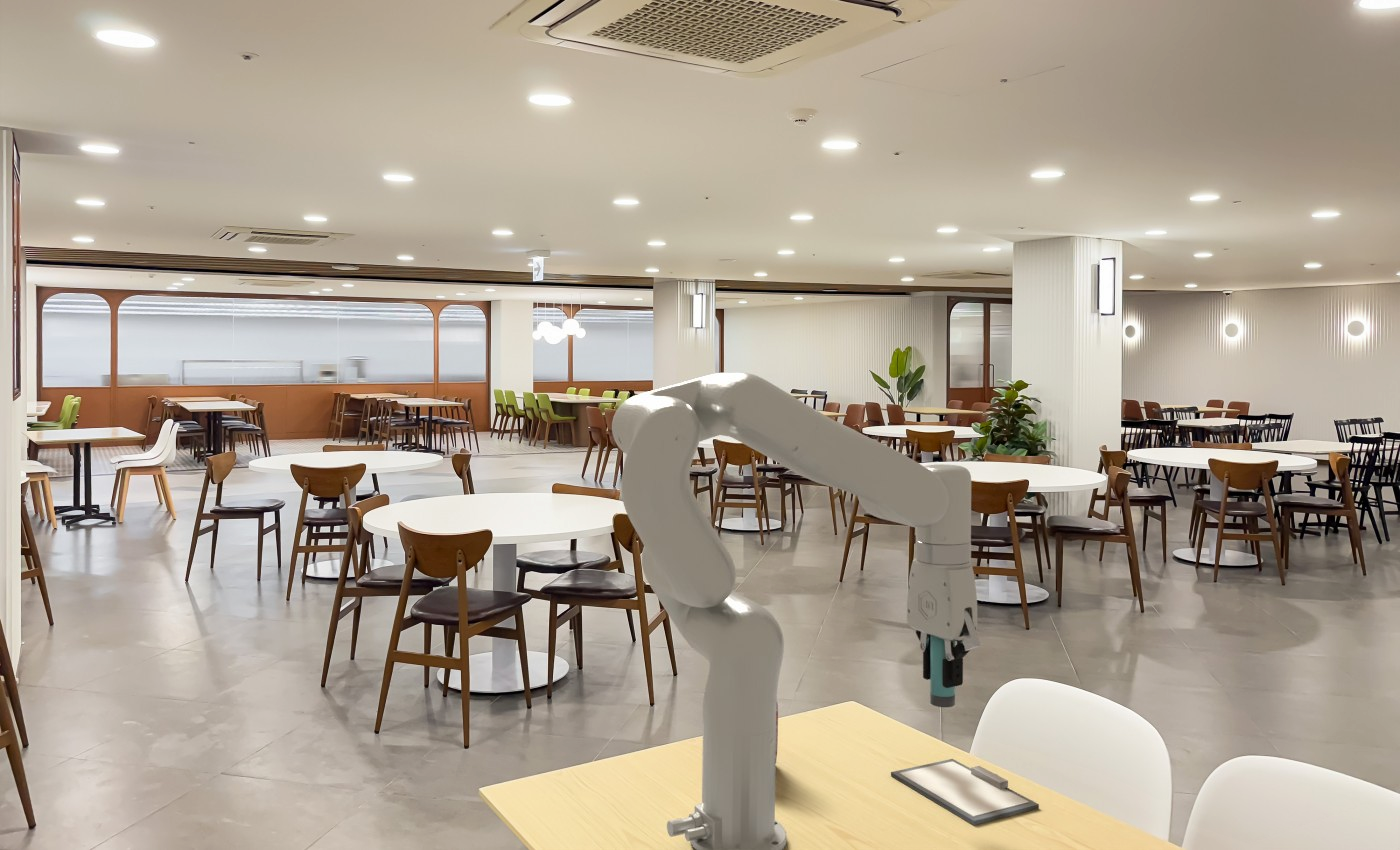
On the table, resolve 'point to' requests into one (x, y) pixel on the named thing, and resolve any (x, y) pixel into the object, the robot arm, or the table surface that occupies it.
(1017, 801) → the clipboard
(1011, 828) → the table surface
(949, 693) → the marker
